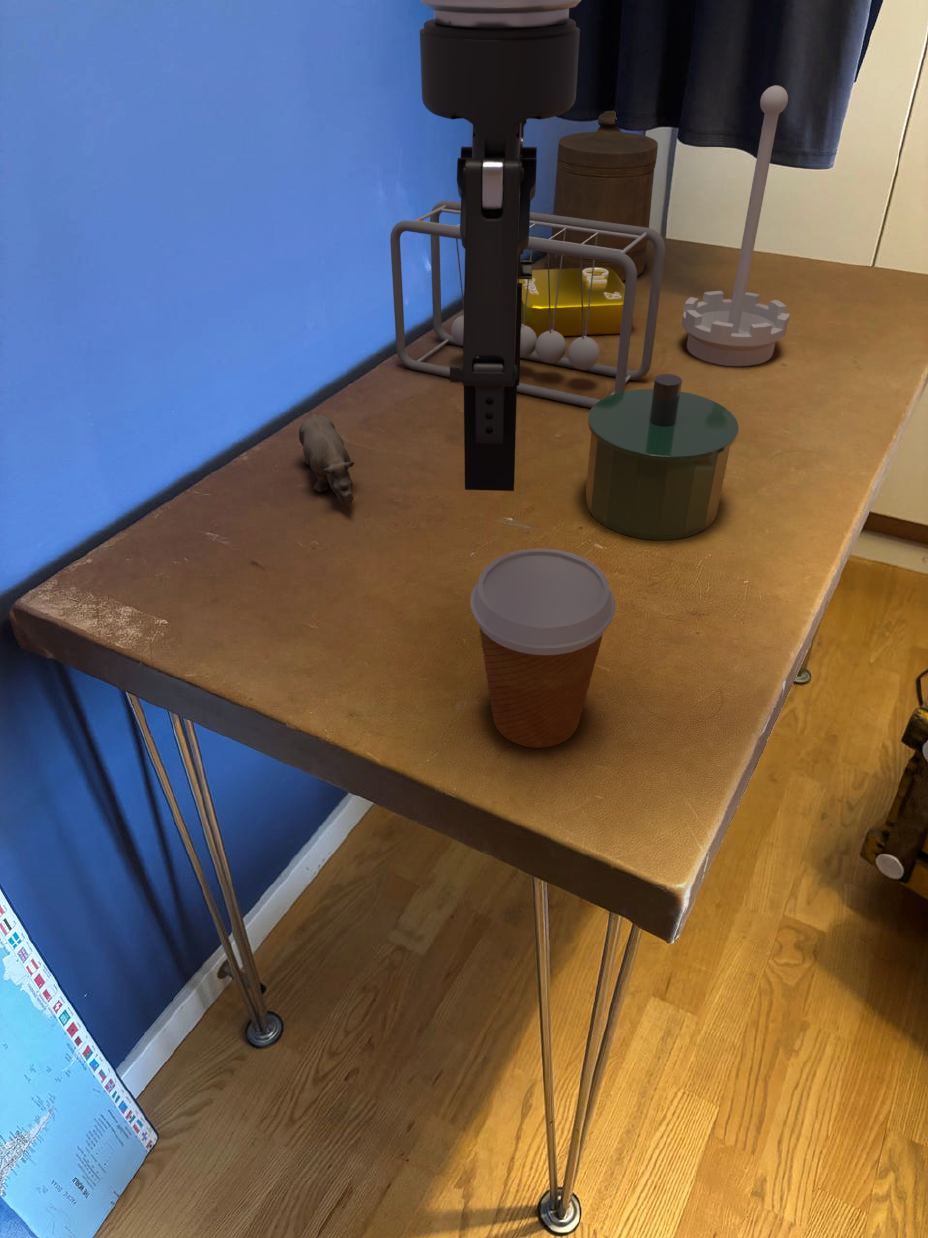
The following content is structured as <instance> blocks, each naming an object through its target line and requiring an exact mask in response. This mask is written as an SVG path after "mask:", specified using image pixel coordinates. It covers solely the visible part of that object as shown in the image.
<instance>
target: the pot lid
mask: <svg viewBox="0 0 928 1238" xmlns="http://www.w3.org/2000/svg"><path fill="white" fill-rule="evenodd" d="M653 381H654V383H653V388H639V389H631V390H625V391H624V392H620V393H616V394H613V395H611V394H610V395H608V396H606V397H604V398H602V399H599V400H600V401H599V402H597V403H596V404H595V405H594V406H593V407H592V408H590V410H589V413H588V416H587V425H588V428H589V430H590V433H591V432H592V434H593V435H594V436H595V437H596V438H597V439H598V440H599V441H600V442H602V443H603V444H605V445H606V446H608V447H610V448H612V449H614V450H616V451H619V452H622V453H624V454H627V455H631V456H634V457H639V458H643V459H650V460H658V461H690V460H697V459H703V458H707V457H711V456H714V455H716V454H719V453H721V452H723V451H725V450H726V449H728V448H729V447H730V448H731V447H732V445H733V444H735V442H736V440H737V438H738V434H739V430H740V429H739V428H740V427H739V423H738V420H737V418H736V417H735V415H734V414H733V413H732V412H731V411H730V410H729V409H727V408H726V407H725V406H724V405H721V404H720V403H718V402H716V401H715V400H712V399H709V398H707V397H704V396H701V395H699V394H694V393H691V392H687V391H682V385H683V379H682V378H681V377H680V376H678V375H676V374H671V373H663V374H657V375H656V376H655V378H654V380H653Z"/></svg>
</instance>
